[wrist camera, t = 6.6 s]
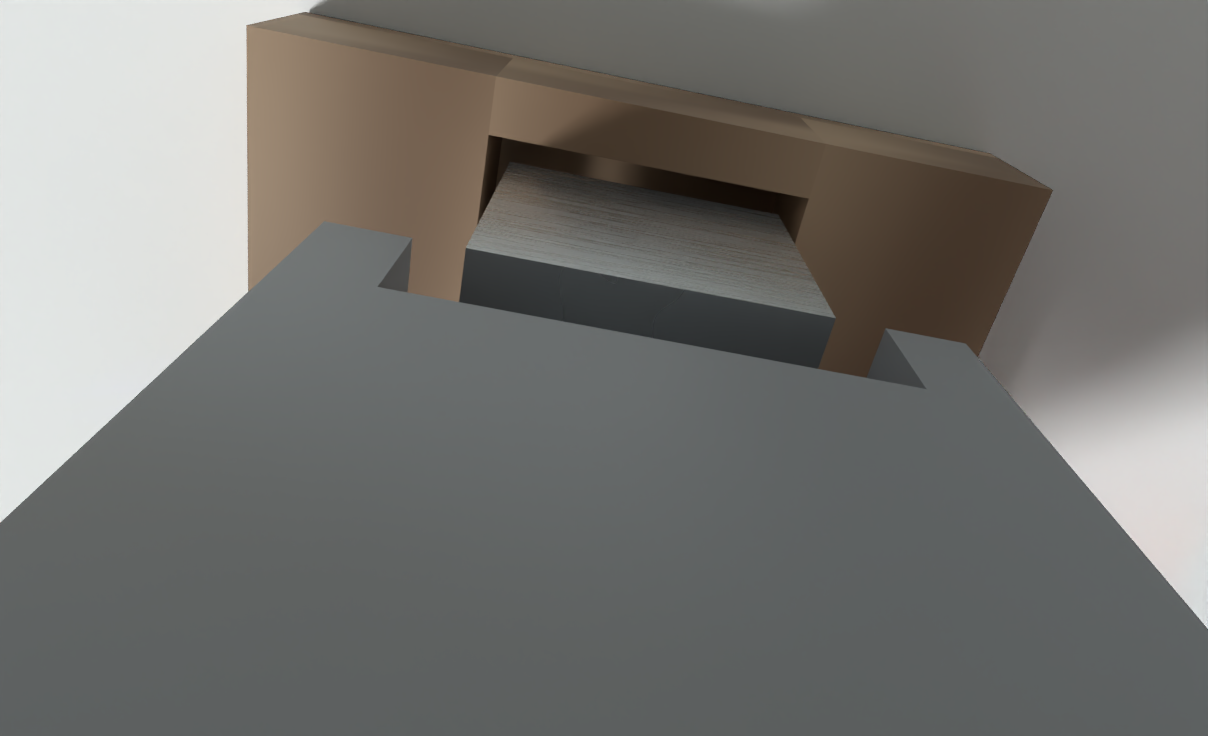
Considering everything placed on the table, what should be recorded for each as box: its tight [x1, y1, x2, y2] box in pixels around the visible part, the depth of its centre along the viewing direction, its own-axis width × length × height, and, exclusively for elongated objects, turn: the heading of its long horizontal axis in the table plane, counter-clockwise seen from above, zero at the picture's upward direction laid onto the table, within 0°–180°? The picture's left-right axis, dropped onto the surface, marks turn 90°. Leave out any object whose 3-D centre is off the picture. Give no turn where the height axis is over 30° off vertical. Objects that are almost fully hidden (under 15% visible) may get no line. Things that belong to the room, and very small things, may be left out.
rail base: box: [247, 12, 1053, 378], centre depth 15 cm, size 10×17×2 cm, turn 169°
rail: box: [459, 162, 836, 369], centre depth 13 cm, size 4×15×3 cm, turn 169°
